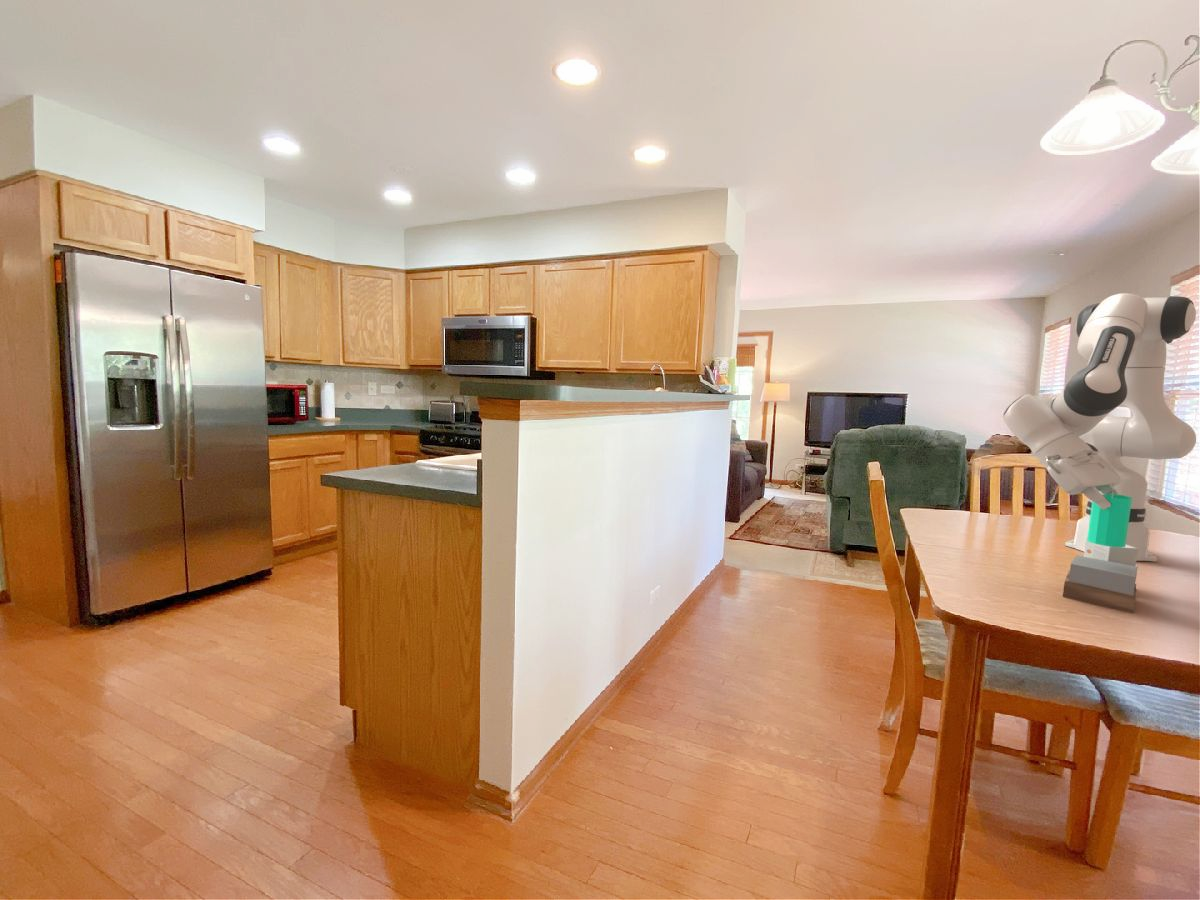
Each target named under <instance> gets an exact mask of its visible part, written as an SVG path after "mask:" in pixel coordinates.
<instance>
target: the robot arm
mask: <svg viewBox="0 0 1200 900" xmlns="http://www.w3.org/2000/svg"><path fill="white" fill-rule="evenodd" d="M1196 318H1197V310H1196V307H1195V304H1194V301H1193V300H1192V299H1190V298H1188V297H1185V296H1179V295H1178V296H1177V295H1175V296H1173V295H1170V296H1168V297H1164V296H1163V297H1159V296H1158V297H1155V296H1154V297H1142V296H1140V295H1139V294H1135V293H1129V292H1128V293H1127V292H1123V293H1122V292H1121V293H1116V294H1113V295H1110V296H1108V297H1106V298H1105V299H1103V300H1102V301H1101V302H1099V303H1094V304H1090V305H1088V306H1086V307H1084V308H1083V309H1082V310H1081V311H1079V313H1078V316H1077V319H1076V321H1075V330H1076V335H1077V337H1078V341H1077V348H1076V349H1077V353H1078V355H1080V356H1081V357H1082V358H1083V359H1084V360H1086V361H1088V362H1087V365H1086V367H1083V368H1082V369H1081V370H1080V371H1078V372H1076V373H1075V374H1074V375H1073V376H1071V378H1070V379H1069V381H1068V382H1067V384H1066V385H1065V387H1064V388H1063V389H1062V390H1061V392H1060V393H1059V394H1058V395H1055V396H1035V395H1033V394H1030V393H1027V394H1023V395H1021V396H1020V397H1018V398H1017V399H1015V400H1013V402H1012V403H1010V404H1009V405H1008V407H1007V408H1006V409H1005V411H1004V413H1003V416H1002V418H1003V420H1004V423H1005V424H1006V426H1007V427H1008V429H1009V430H1010V431H1011V433H1012V434H1013V435H1014V436H1015V437H1016V438H1017V439H1018V441H1020V442H1021V443H1022V444H1024V445H1025V446H1027V447H1028V448H1029V449H1030V451H1031V453H1032V455H1033V456H1034V458H1036V459H1037V461H1038V462H1039V463H1040V464H1041V465H1042V466H1043V467H1044V468H1045V469H1046V470H1047V472H1048V473H1049V475H1050V476H1051V478H1052V479H1053V480H1054V482H1055V483H1057V485H1058V486H1059V487H1060V488H1061V489H1062V491H1064V492H1065V493H1067V495H1069V496H1071V495H1072V496H1073V495H1080V494H1083V495H1084V496H1085V497H1086V498H1088V500H1089V501H1087V504H1086V506H1085V513H1086V514H1085V515H1084V516H1083V517H1080V518H1079V519H1078V520H1077V522H1076V525H1075V526H1076V528H1075V533H1074V538H1073V539H1070V540H1067V541H1065V544H1064V546H1066V547H1069V548H1073V549H1076V550H1079V551H1081V552H1084V549H1085V542H1086V538H1087V537H1088V529H1089V522H1090V514H1091V507H1092V501H1093V502H1095V503H1096V504H1097V505H1098V506H1099V507H1100V508H1101V509H1107V508H1109V507H1111V506H1112V503H1111V502H1110V501H1109V500H1108V499H1107V498H1105V497H1104V496H1103V495H1111V494H1112V491H1113V489H1114V491H1113V494H1115V495H1124V496H1128V497H1132V502H1131V509H1130V517H1129V524H1128V531H1127V538H1126V545H1129V546H1132V547H1135V548H1137V549H1138V553H1137V560H1136V562H1138V561H1139V562H1140V561H1142V562H1143V561H1145V562H1157V557H1156V556H1155V555H1153V554H1152V553H1151V552H1149V545H1150V537H1151V530H1150V529H1149V528H1148V527H1147V526H1146V525H1145V524H1144V521H1145V520H1146V515H1147V513H1146V508H1145V503H1146V499H1147V498H1146V496H1147V492H1148V487H1149V486H1148V482H1147V478H1145V477H1144V476H1143V475H1142V474H1140V473H1139V472H1136V471H1135V470H1133V469H1131V468H1129V467H1127V466H1125V465H1124V464H1123V463H1122V460H1121V458H1123V457H1125V458H1126V457H1128V458H1138V459H1147V460H1148V459H1149V460H1172V459H1173V460H1174V459H1182V458H1184V457H1185V456H1187V455H1188V454H1190V453H1191V451H1193V449H1194V448H1195V446H1196V444H1197V435H1196V432H1195V430H1194V428H1193V427H1192V426H1191V425H1190V424H1188V423H1187V422H1185V421H1184V420H1182V419H1181V418H1179V417H1178V416H1177V415H1176V414H1175V413H1174V412H1172V410H1171V408H1169V405H1168V404H1167V402H1166V400H1165V396H1164V395H1165V394H1164V380H1165V371H1166V363H1167V345H1168V344H1172V342H1173V341H1174V340H1177V339H1179V338H1182V337H1183V336H1184V335H1186V334H1187V333H1189V331H1190V330H1191V328H1192V326H1193V325H1194V323H1195V320H1196ZM1120 405H1121V406H1124V407H1126V408H1127V409H1129V410H1130V412H1131V415H1132V416H1129V417H1125V416H1109V414H1110V413H1111V412H1112V411H1114V410H1115V409H1116V408H1117V407H1119V406H1120Z"/></svg>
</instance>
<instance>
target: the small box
mask: <svg viewBox="0 0 1200 900" xmlns="http://www.w3.org/2000/svg"><path fill="white" fill-rule="evenodd" d="M1137 553H1138V549H1137V548H1135V547H1132V546H1129V545H1125V547H1111V546H1104V545H1099V544H1094V543H1091V542H1089V541H1087V538H1086V542H1085V549H1084V551H1083V557H1089V558H1094V559H1099V560H1104V561H1109V562H1115V563H1120V564H1125V565H1130V566H1136V567H1137V561H1136V560H1137Z"/></svg>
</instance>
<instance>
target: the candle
mask: <svg viewBox="0 0 1200 900" xmlns="http://www.w3.org/2000/svg"><path fill="white" fill-rule="evenodd" d="M1113 491H1114V489H1113ZM1113 491H1112V494H1111V495H1103V496H1104V497H1105V498H1107V499H1108V500H1109V501H1110V502H1111V503H1112V506H1111V507H1109V508H1107V509H1101V508H1100V507H1099V506H1098V505H1097V504H1096V503H1095V502H1093V501H1092V507H1091V514H1090V522H1089V529H1088V537H1087V541H1089V542H1091V543H1094V544H1099V545H1104V546H1111V547H1125V545H1126V538H1127V531H1128V524H1129V517H1130V509H1131V502H1132V497H1128V496H1124V495H1115V494H1113Z"/></svg>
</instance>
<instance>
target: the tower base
mask: <svg viewBox="0 0 1200 900" xmlns="http://www.w3.org/2000/svg"><path fill="white" fill-rule="evenodd" d="M1069 574H1070V569H1069V570H1068V572H1067V575H1066V577H1065V580H1064V584H1063V592H1062V598H1066V599H1070V600H1075V601H1079V602H1083V603H1088V604H1091V605H1092V604H1093V605H1097V606H1101V607H1105V608H1109V609H1114V610H1117V611H1123V612H1126V613H1131V614H1134V612H1135V606H1136V599H1137V583H1135V588H1134V593H1133V596H1132V595H1128V594H1123V593H1119V592H1114V591H1109V590H1105V589H1100V588H1096V587H1091V586H1087V585H1082V584H1078V583H1073V582H1069Z"/></svg>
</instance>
